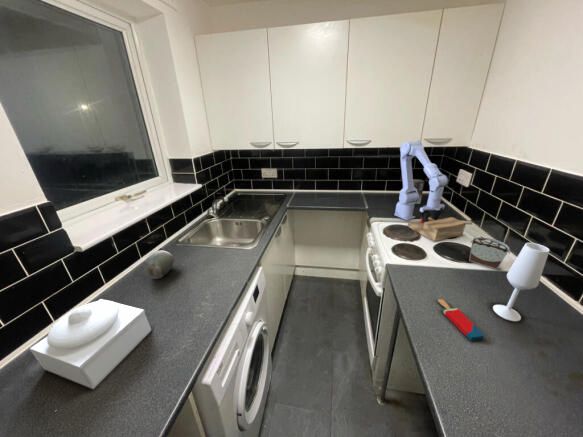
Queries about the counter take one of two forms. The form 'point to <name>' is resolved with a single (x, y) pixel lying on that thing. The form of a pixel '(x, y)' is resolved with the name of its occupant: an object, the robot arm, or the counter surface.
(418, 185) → the coffee box
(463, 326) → the popsicle
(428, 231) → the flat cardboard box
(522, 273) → the white wine glass
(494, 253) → the food container
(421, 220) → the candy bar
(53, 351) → the butter dish
